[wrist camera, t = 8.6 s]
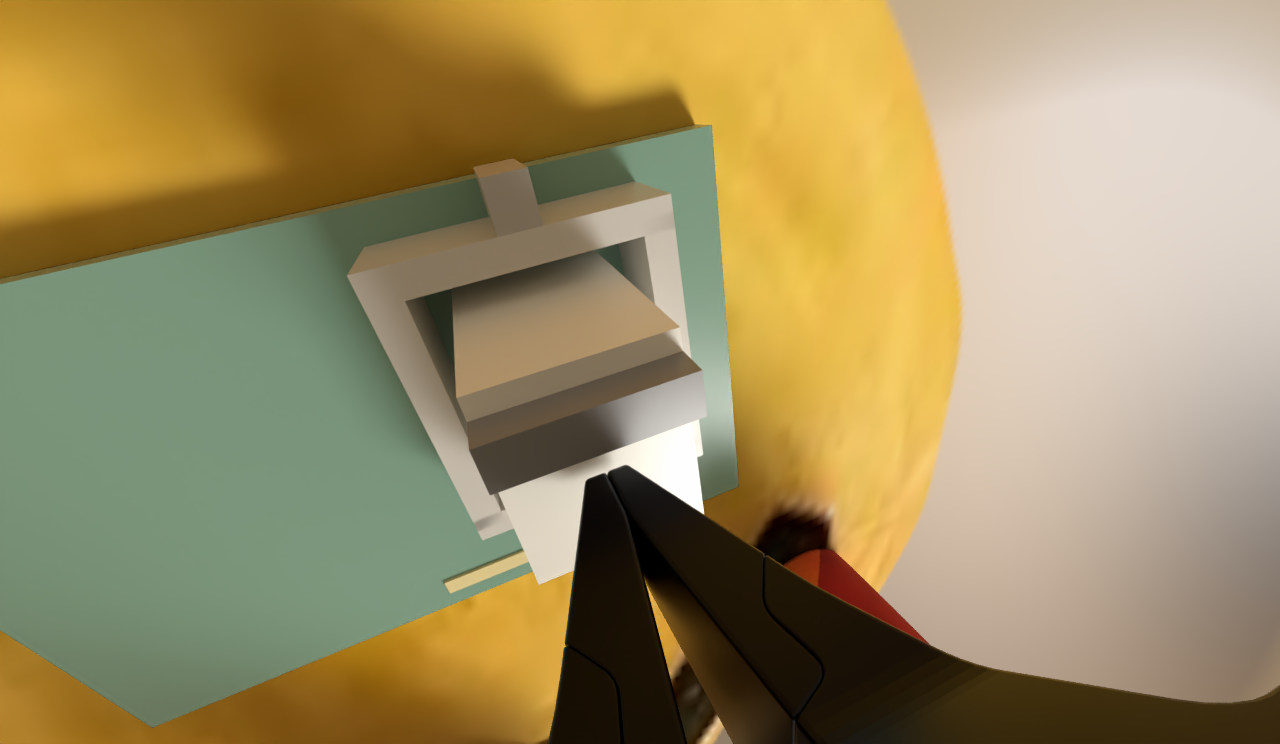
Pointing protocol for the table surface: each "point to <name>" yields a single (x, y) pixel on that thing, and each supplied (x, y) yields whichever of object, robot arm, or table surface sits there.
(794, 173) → the table surface
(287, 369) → the board
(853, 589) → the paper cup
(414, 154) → the table surface
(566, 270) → the plug
